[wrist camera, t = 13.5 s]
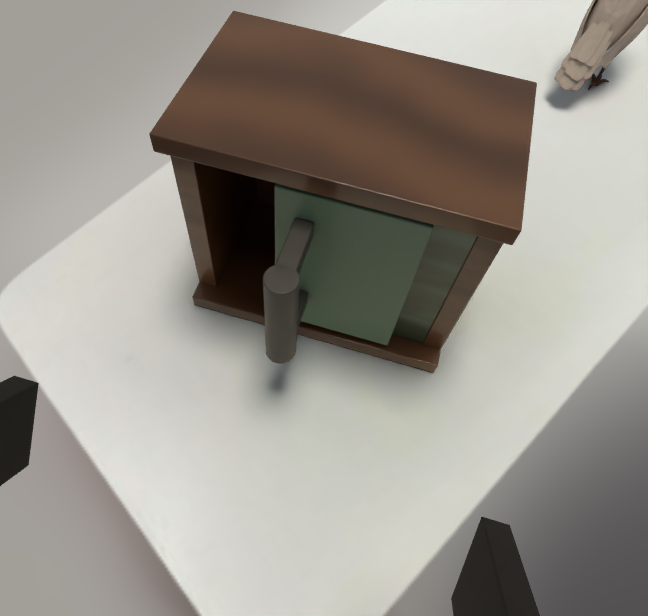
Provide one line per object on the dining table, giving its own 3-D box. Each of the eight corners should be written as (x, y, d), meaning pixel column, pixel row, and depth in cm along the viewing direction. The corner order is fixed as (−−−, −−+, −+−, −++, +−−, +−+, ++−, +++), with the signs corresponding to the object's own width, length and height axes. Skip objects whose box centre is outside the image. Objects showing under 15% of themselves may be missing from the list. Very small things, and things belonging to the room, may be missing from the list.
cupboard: (433, 373, 33) (521, 231, 21) (193, 304, 34) (148, 133, 22) (456, 252, 38) (537, 82, 26) (246, 196, 39) (233, 9, 27)
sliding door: (371, 410, 30) (415, 310, 20) (251, 375, 31) (239, 261, 21) (389, 337, 33) (435, 218, 23) (278, 306, 33) (278, 177, 24)
